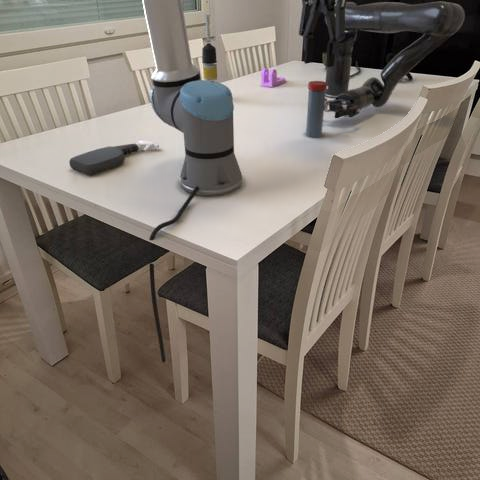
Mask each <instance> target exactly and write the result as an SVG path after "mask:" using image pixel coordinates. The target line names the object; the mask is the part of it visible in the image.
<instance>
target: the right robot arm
mask: <svg viewBox="0 0 480 480" xmlns="http://www.w3.org/2000/svg"><path fill="white" fill-rule="evenodd" d="M334 6H335V5H334ZM335 10H336V6H335ZM330 12H331V11H330ZM335 18H336V16H335ZM324 21H325V24H326V25H327V21H326V17H325V16H324ZM464 21H465V10H464V8H463V7H462V6H461V5H460V4H459V3H455V2H449V1H443V0H442V1H441V0H440V1H432V2H427V3H425V2H424V3H418V4H409V3H405V2H404V3H403V2H398V1H397V2H396V1H395V2H393V1H381V2H372V3H366V4H360V5H357V3H355V2H353V1H347V2H346V6H345V39H343V40H340V41H339V42H338V48H337V54H335V61H334V66H332V67H327V70H326V69H325V82H326V83H327V88H326V91H325V103H324V113H334V119H340V118H342V117H344V118H346V117H348V118H354V117H355V116H357V115H359V114H360V113H361V110H362V109H365V108H368V107H370V106H372V107H374V108H381V107H383V106H384V105H386V104H387V103H388V101H389V100H390V98H391V96H392V94H393V91H394V90H395V89H396V87H397V86H398V85H399V83H400V82H402V81H403V79H404V78H405V77H407V76H406V74H407V73H408V72H409V73H410V71H412V70H413V68H414V67H416V66H417V65H418V64H419V63H420V62H421V61H422V60H424V58H425V57H427V56H428V55H429V54H430V53H432V52H433V51H434V50H435V49H437V48H438V47H439V46H441V44H443V43H445V42H446V41H447V40H448V39H450V38H451V37H452V36H453V35H455V34H456V33H457V32H458V31H459V30H460V29H461V27H462V25H463V23H464ZM358 31H363V32H368V33H369V32H370V33H377V34H379V33H380V34H396V33H397V34H398V33H402V32H415V33H420V34H423V35H422V36H421V37H419V38H418V39H416V40H415V41H414V42H413V43H411V44H410V45H408V46H407V47H405V48H404V49H402V50H400V52H398V53H397V54H395V55H396V56H395V57H394V58H393V59H392V58H391V59H390V60H391V61H390V62H389V63H388V64H387V63H386V66H384V68H383V69H382V70H381V71H380V78H381V80H382V81H381V80H380V79H379V78H377V77H375V76H373V77H369V78H368V79H367V80H365V81H364V83H363V84H362V85H361V86H359V87H357V88H352V89H350V90H349V86H350V78H352V77H354V76H357V75H359V74H360V72H361V70H362V69H361V67H360V66H359V65H358V63H359V62H358V61H357V60H356V61H355V67H356V68H357V69H358V70H357V72H354V73H353V74H351V67H352V60H353V59H352V57H353V49H354V44H355V42H356V41H357V35H358ZM401 80H402V81H401ZM326 97H328V98H334V99H331V100H328V98H326Z"/></svg>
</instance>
